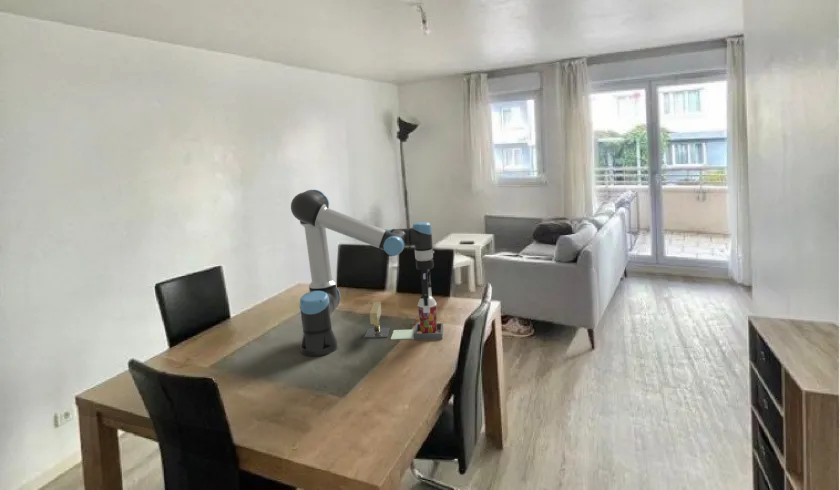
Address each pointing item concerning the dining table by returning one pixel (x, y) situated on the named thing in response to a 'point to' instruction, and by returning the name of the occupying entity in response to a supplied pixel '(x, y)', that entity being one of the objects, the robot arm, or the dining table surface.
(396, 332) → the mat
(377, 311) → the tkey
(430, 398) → the dining table surface
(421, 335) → the socket
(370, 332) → the lock plate
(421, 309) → the smoothie
